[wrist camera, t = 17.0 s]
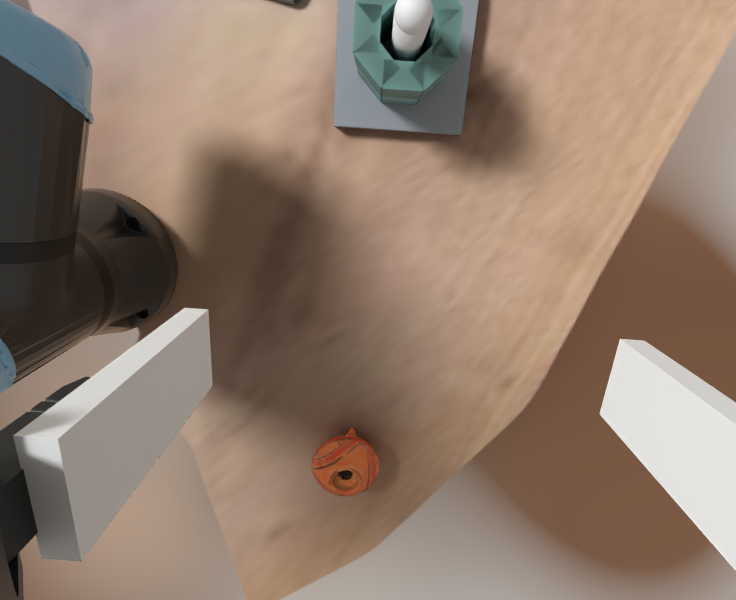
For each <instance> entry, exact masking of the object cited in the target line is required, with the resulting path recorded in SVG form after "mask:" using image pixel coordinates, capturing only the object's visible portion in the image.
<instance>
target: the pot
mask: <svg viewBox="0 0 736 600" xmlns="http://www.w3.org/2000/svg"><path fill="white" fill-rule="evenodd" d="M379 469H380V460H379V457H378V454H377V452H376V451H375V450H374V448H373V447H372V446H371V445H370V444H369V443H368V442H366V441H365V440H363V439H360V438H358V437H357V435H356V432H355V430H354V428H350V430H349V431H348V433H347V434H346V436H339V437H335V438H332V439H330V440H328V441H326V442H325V443H323V444H322V445H321V446H320V447H319V448H318V449H317V451H316V453H315V454H314V456H313V459H312V472H313V474H314V477H315V478H316V480H317V482H318V483H319V484H320V485H321V486H322V487H323V488H324V489H325V490H326V491H328V492H330V493H332V494H334V495H338V496H352V495H355V494H358V493H360V492H363V491H364V490H366V489H367V488H368V487H369V486H370V485H371V484H372V483H373V482H374V481H375V479H376V478H377V476H378V473H379Z"/></svg>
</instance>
